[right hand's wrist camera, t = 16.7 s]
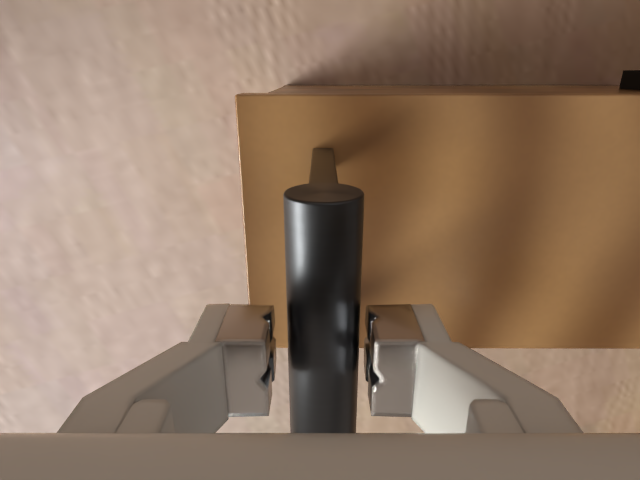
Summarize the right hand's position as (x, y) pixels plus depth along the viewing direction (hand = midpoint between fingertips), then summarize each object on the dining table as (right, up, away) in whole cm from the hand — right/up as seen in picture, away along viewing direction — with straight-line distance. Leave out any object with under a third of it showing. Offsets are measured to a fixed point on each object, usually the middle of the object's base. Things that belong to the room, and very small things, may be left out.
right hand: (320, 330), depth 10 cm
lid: (+6, +3, +7) cm, 10 cm away
